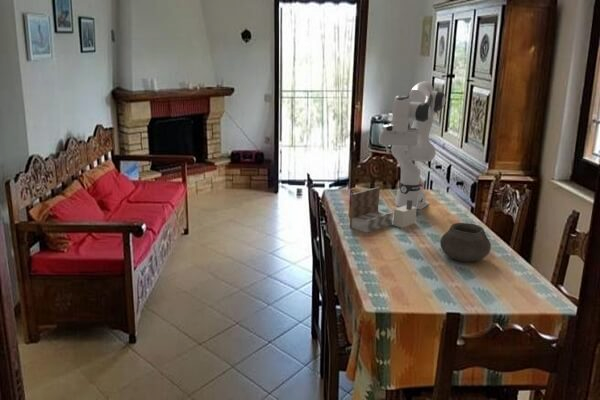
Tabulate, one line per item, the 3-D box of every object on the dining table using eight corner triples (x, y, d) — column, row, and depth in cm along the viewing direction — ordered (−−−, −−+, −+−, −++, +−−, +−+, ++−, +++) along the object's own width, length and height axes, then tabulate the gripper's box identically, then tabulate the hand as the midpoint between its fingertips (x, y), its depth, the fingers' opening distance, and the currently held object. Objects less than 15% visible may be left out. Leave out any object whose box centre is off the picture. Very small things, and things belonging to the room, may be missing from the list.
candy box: (364, 217, 286) (366, 191, 282) (359, 218, 284) (361, 192, 279) (353, 213, 293) (355, 187, 288) (348, 214, 290) (349, 188, 286)
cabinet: (405, 220, 284) (408, 196, 280) (415, 223, 280) (417, 198, 276) (393, 224, 276) (395, 199, 272) (402, 227, 272) (404, 202, 268)
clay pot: (436, 262, 229) (440, 231, 225) (441, 246, 248) (445, 217, 244) (487, 271, 222) (492, 239, 217) (489, 254, 241) (493, 224, 237)
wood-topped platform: (375, 218, 285) (377, 186, 280) (392, 223, 278) (395, 191, 272) (349, 226, 270) (351, 193, 265) (366, 232, 263) (369, 198, 257)
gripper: (417, 127, 272) (414, 152, 276) (379, 125, 271) (376, 151, 275) (420, 128, 266) (417, 155, 270) (381, 127, 265) (379, 154, 269)
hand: (396, 153), depth 273 cm, fingers open, 8 cm apart
